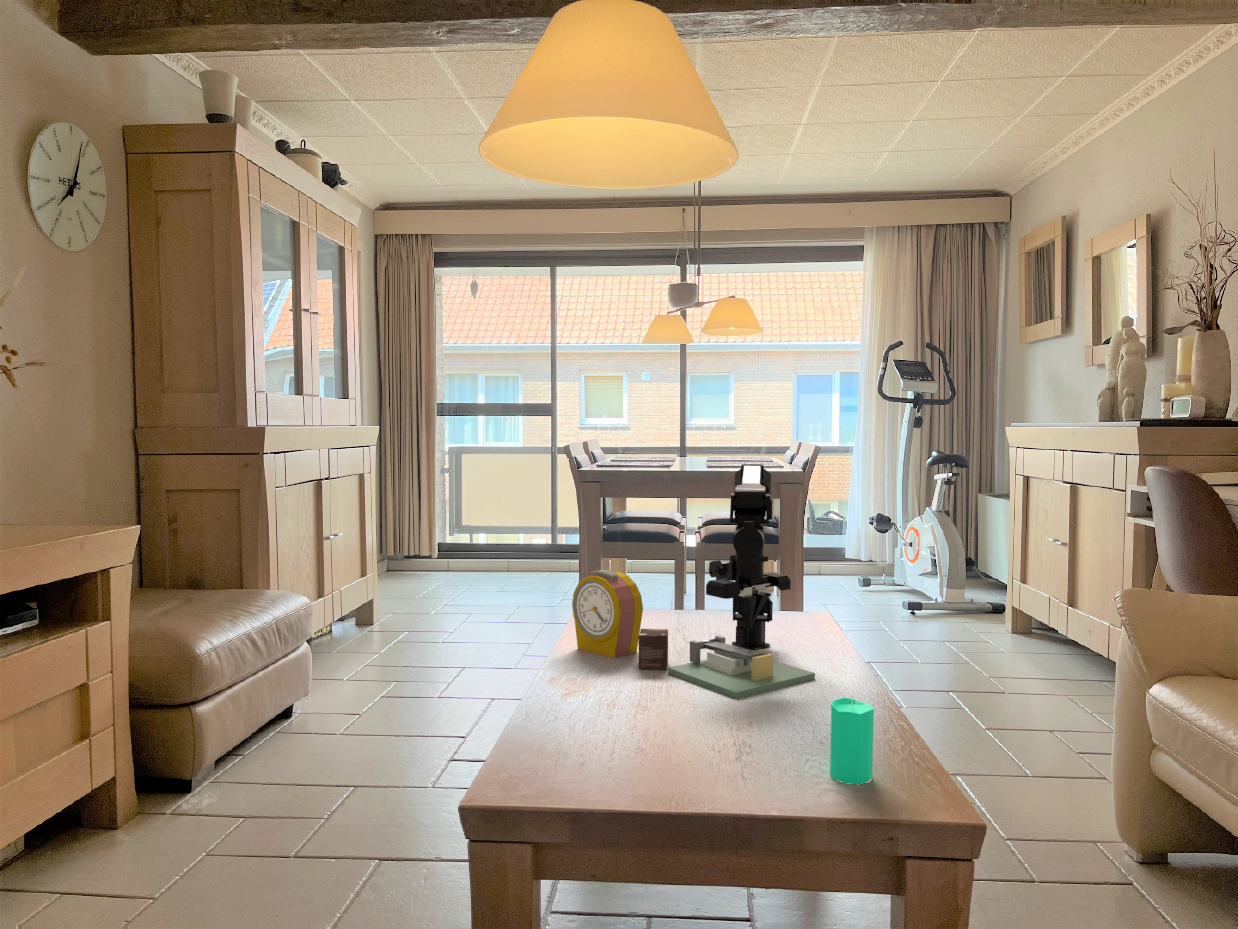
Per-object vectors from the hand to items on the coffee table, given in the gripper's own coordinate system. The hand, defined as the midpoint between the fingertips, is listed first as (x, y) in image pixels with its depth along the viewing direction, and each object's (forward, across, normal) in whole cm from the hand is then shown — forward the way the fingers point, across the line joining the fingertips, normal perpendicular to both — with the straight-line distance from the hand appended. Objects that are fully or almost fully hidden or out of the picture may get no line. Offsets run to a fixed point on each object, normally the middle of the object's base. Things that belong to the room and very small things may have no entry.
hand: (748, 627), depth 168 cm
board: (+10, 0, -2) cm, 11 cm away
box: (+11, +10, -18) cm, 23 cm away
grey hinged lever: (+6, 0, -5) cm, 8 cm away
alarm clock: (+10, +11, -34) cm, 37 cm away
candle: (+11, +22, +43) cm, 49 cm away
